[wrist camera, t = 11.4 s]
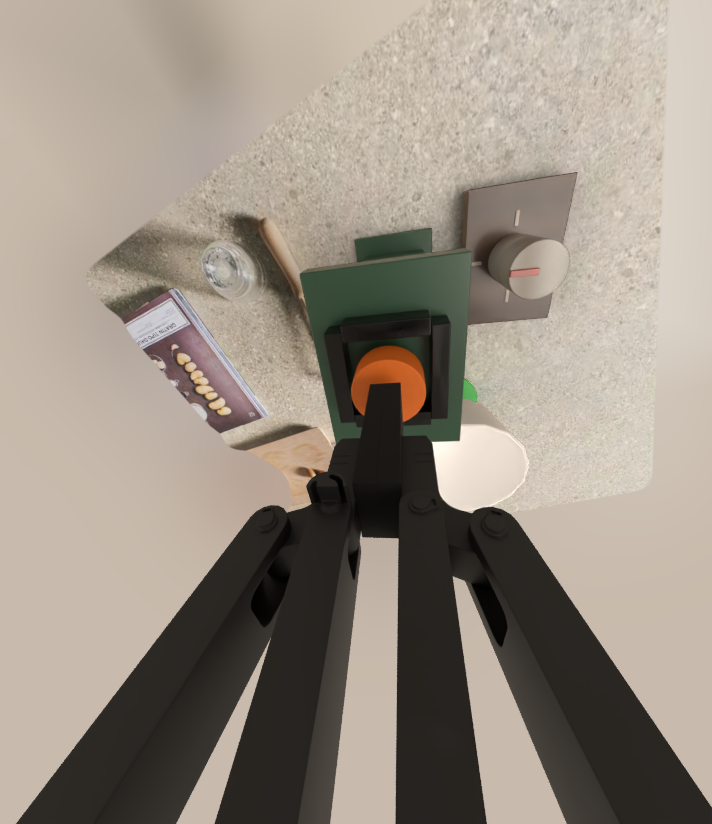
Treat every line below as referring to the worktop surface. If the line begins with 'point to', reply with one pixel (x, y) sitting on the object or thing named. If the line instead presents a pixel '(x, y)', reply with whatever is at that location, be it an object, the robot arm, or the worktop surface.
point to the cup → (479, 459)
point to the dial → (529, 265)
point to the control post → (393, 325)
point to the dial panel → (504, 215)
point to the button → (390, 377)
